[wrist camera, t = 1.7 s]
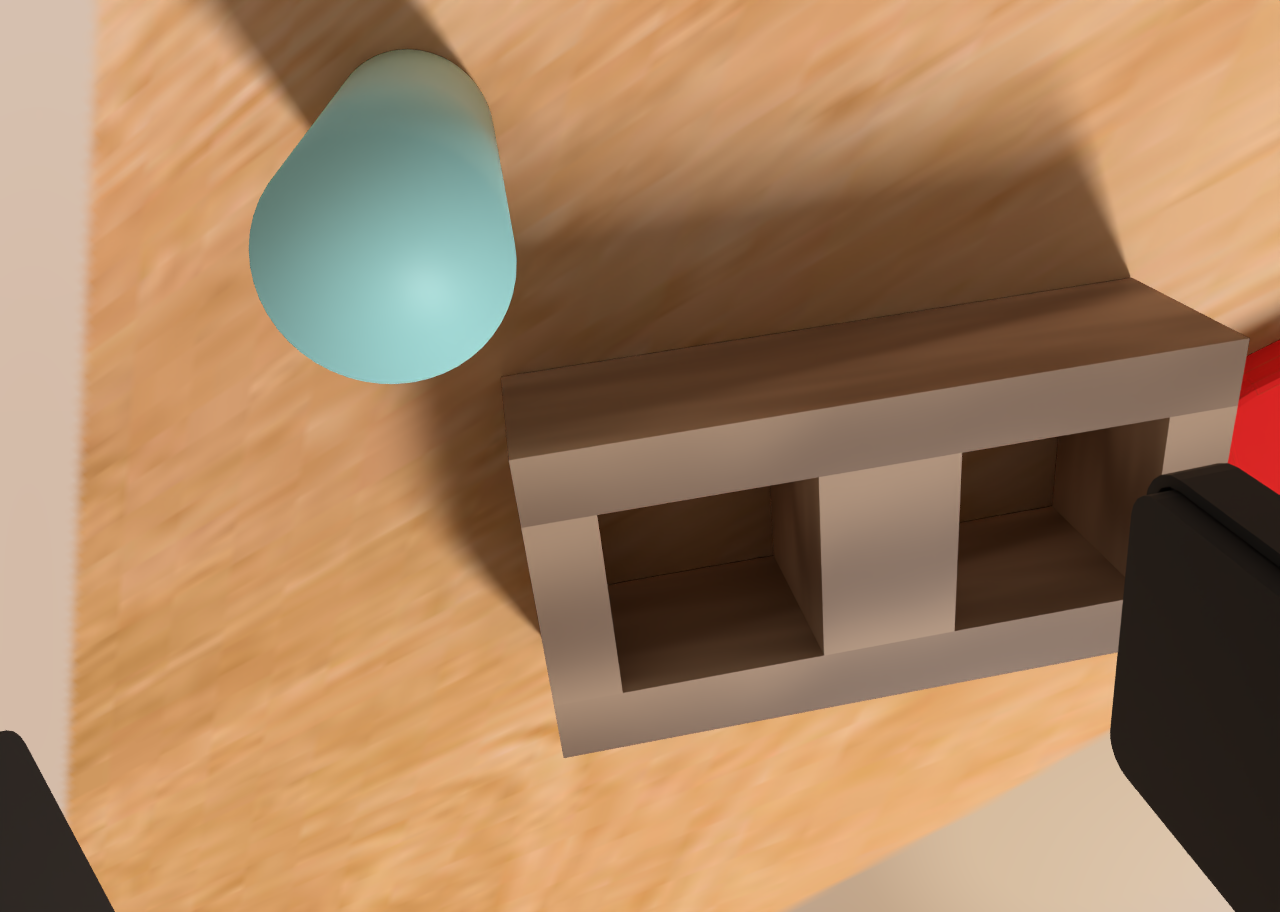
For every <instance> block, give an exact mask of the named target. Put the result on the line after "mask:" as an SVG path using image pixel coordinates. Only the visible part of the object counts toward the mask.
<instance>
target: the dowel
mask: <svg viewBox="0 0 1280 912" xmlns="http://www.w3.org/2000/svg"><path fill="white" fill-rule="evenodd" d="M249 258H250V268H251V273H252V277H253V282H254V285H255V288H256V291H257V293H258V296H259V299H260V301H261V303H262V305H263V307H264V309H265V311H266V313H267V314H268V316H269V317H270V319H271V320H272V322H273V323H274V325H275V326H276V328H277V329H278V330H279V331H280V332H281V333H282V334H283V336H284V337H285V338H286V339H287V340H288V341H289V342H290V343H291V344H292V345H293V346H294V347H296V348H297V349H298V350H299V351H300V352H301V353H303V354H304V355H305V356H307V357H308V358H310V359H311V360H313V361H314V362H315V363H317V364H319V365H321V366H323V367H325V368H327V369H329V370H330V371H333V372H335V373H338V374H341V375H343V376H346V377H349V378H353V379H357V380H360V381H365V382H372V383H379V384H400V383H411V382H416V381H421V380H425V379H429V378H432V377H435V376H438V375H441V374H444V373H446V372H448V371H450V370H452V369H454V368H456V367H458V366H459V365H461V364H462V363H464V362H465V361H466V360H468V359H469V358H471V357H472V356H473V355H474V354H475V353H477V352H478V351H479V350H480V349H481V348H482V347H483V346H484V345H485V344H486V343H487V342H488V340H489V339H490V338H491V337H492V336H493V334H494V333H495V331H496V330H497V328H498V327H499V325H500V324H501V322H502V320H503V318H504V316H505V314H506V312H507V310H508V307H509V304H510V301H511V298H512V295H513V291H514V285H515V280H516V262H517V261H516V250H515V242H514V236H513V231H512V225H511V220H510V214H509V209H508V203H507V198H506V192H505V187H504V181H503V175H502V170H501V164H500V159H499V153H498V148H497V142H496V137H495V131H494V126H493V121H492V116H491V112H490V110H489V107H488V104H487V102H486V100H485V98H484V96H483V94H482V92H481V91H480V89H479V88H478V86H477V85H476V83H475V82H474V81H473V80H472V79H471V78H470V77H469V75H468V74H466V73H465V72H464V71H463V70H462V69H461V68H460V67H458V66H457V65H455V64H454V63H452V62H451V61H449V60H447V59H445V58H443V57H441V56H439V55H436V54H433V53H430V52H426V51H421V50H412V49H402V50H394V51H389V52H385V53H382V54H379V55H376V56H375V57H373V58H371V59H369V60H367V61H366V62H364V63H363V64H361V65H360V66H359V67H357V68H356V69H355V70H354V71H353V72H352V73H351V74H350V76H349V77H348V78H347V80H346V81H345V82H344V84H343V85H342V86H341V88H340V89H339V90H338V92H337V93H336V94H335V96H334V97H333V98H332V100H331V101H330V102H329V103H328V105H327V106H326V107H325V109H324V110H323V111H322V113H321V114H320V115H319V117H318V118H317V119H316V121H315V122H314V123H313V125H312V126H311V127H310V129H309V130H308V131H307V133H306V134H305V135H304V137H303V138H302V139H301V141H300V142H299V143H298V145H297V146H296V147H295V149H294V150H293V151H292V153H291V154H290V155H289V157H288V158H287V159H286V161H285V162H284V163H283V165H282V166H281V167H280V169H279V170H278V171H277V173H276V174H275V175H274V177H273V178H272V179H271V181H270V182H269V183H268V185H267V187H266V188H265V190H264V192H263V194H262V196H261V197H260V199H259V202H258V205H257V207H256V210H255V213H254V215H253V220H252V225H251V229H250V239H249Z"/></svg>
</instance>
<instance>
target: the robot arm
mask: <svg viewBox="0 0 1280 912" xmlns="http://www.w3.org/2000/svg"><path fill="white" fill-rule="evenodd" d="M1110 739H1111V744H1112V749H1113V752H1114V755H1115V758H1116V760H1117V762H1118V764H1119V766H1120V768H1121V770H1122V771H1123V773H1124V774H1125V776H1126V777H1127V779H1128V780H1129V781H1130V782H1131V784H1132V785H1133V786H1134V787H1135V789H1136V790H1137V791H1138V792H1139V793H1140V795H1141V796H1142V797H1143V798H1144V800H1145V801H1146V802H1147V803H1148V805H1149V806H1150V807H1151V808H1152V810H1153V811H1154V812H1155V813H1156V814H1157V815H1158V817H1159V818H1160V819H1161V821H1162V822H1163V823H1164V824H1165V826H1166V827H1167V828H1168V829H1169V831H1170V832H1171V833H1172V834H1173V835H1174V837H1175V838H1176V839H1177V840H1178V842H1179V843H1180V844H1181V845H1182V846H1183V848H1184V849H1185V850H1186V851H1187V853H1188V854H1189V855H1190V856H1191V857H1192V859H1193V860H1194V861H1195V863H1196V864H1197V865H1198V866H1199V867H1200V869H1201V870H1202V871H1203V872H1204V874H1205V875H1206V876H1207V877H1208V879H1209V880H1210V881H1211V882H1212V884H1213V885H1214V886H1215V887H1216V889H1217V890H1218V891H1219V892H1220V893H1221V895H1222V896H1223V897H1224V898H1225V900H1226V901H1227V902H1228V903H1229V905H1230V906H1231V907H1232V908H1233V910H1234V911H1235V912H1280V495H1279V494H1277V493H1276V492H1274V491H1273V490H1271V489H1270V488H1268V487H1267V486H1265V485H1264V484H1262V483H1261V482H1259V481H1258V480H1256V479H1255V478H1253V477H1252V476H1250V475H1249V474H1247V473H1246V472H1244V471H1243V470H1241V469H1240V468H1238V467H1236V466H1234V465H1231V464H1229V463H1217V464H1212V465H1207V466H1202V467H1197V468H1192V469H1188V470H1183V471H1178V472H1173V473H1168V474H1163V475H1160V476H1158V477H1157V478H1155V479H1153V481H1152V482H1151V484H1150V486H1149V487H1148V490H1147V494H1146V495H1144V496H1142V497H1140V498H1138V499H1137V500H1136V502H1135V503H1134V505H1133V508H1132V513H1131V521H1130V532H1129V542H1128V552H1127V563H1126V573H1125V583H1124V594H1123V604H1122V614H1121V625H1120V635H1119V645H1118V656H1117V666H1116V676H1115V687H1114V697H1113V707H1112V718H1111V728H1110ZM0 912H115V911H114V909H113V907H112V906H111V904H110V902H109V900H108V898H107V896H106V894H105V892H104V891H103V889H102V887H101V885H100V883H99V881H98V879H97V877H96V875H95V874H94V872H93V870H92V868H91V866H90V864H89V862H88V860H87V859H86V857H85V855H84V853H83V851H82V849H81V847H80V845H79V843H78V842H77V840H76V838H75V836H74V834H73V832H72V830H71V828H70V827H69V825H68V823H67V821H66V819H65V817H64V815H63V813H62V811H61V810H60V808H59V806H58V804H57V802H56V800H55V798H54V796H53V794H52V793H51V791H50V789H49V787H48V785H47V783H46V781H45V780H44V778H43V776H42V774H41V772H40V770H39V768H38V766H37V765H36V762H35V761H34V759H33V757H32V755H31V753H30V751H29V749H28V747H27V746H26V744H25V742H24V741H23V740H22V738H21V737H20V736H19V735H18V734H17V733H15V732H13V731H7V730H6V731H1V732H0Z"/></svg>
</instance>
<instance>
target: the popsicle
mask: <svg viewBox="0 0 1280 912" xmlns="http://www.w3.org/2000/svg"><path fill="white" fill-rule="evenodd" d="M1228 463H1229V464H1231V465H1234V466H1236V467H1238V468H1240V469H1241V470H1243V471H1244V472H1246V473H1247V474H1249V475H1250V476H1252V477H1253V478H1255V479H1256V480H1258V481H1259V482H1261V483H1262V484H1264V485H1265V486H1267V487H1268V488H1270V489H1271V490H1273V491H1274V492H1276V493H1277V494H1279V495H1280V340H1278V341H1276V342H1274V343H1272V344H1270V345H1268V346H1266V347H1264V348H1262V349H1260V350H1258V351H1256V352H1254V353H1252V354H1250V355H1248V356H1246V362H1245V368H1244V373H1243V379H1242V385H1241V390H1240V396H1239V402H1238V407H1237V413H1236V419H1235V424H1234V430H1233V436H1232V442H1231V447H1230V453H1229V459H1228Z"/></svg>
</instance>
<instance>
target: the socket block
mask: <svg viewBox="0 0 1280 912" xmlns="http://www.w3.org/2000/svg"><path fill="white" fill-rule="evenodd" d="M1249 339H1250V338H1248V337H1246V336H1244V335H1242V334H1240V333H1238V332H1236V331H1234V330H1232V329H1230V328H1229V327H1227V326H1225V325H1223V324H1221V323H1219V322H1217V321H1215V320H1213V319H1211V318H1209V317H1207V316H1205V315H1203V314H1201V313H1199V312H1197V311H1196V310H1194V309H1192V308H1190V307H1188V306H1186V305H1184V304H1182V303H1180V302H1178V301H1176V300H1174V299H1172V298H1170V297H1168V296H1166V295H1164V294H1162V293H1161V292H1159V291H1157V290H1155V289H1153V288H1151V287H1149V286H1147V285H1145V284H1143V283H1141V282H1139V281H1137V280H1135V279H1133V278H1127V279H1120V280H1114V281H1108V282H1101V283H1095V284H1089V285H1082V286H1076V287H1070V288H1063V289H1057V290H1050V291H1044V292H1038V293H1031V294H1025V295H1019V296H1012V297H1006V298H1000V299H993V300H987V301H981V302H974V303H968V304H962V305H955V306H949V307H942V308H936V309H930V310H923V311H917V312H911V313H904V314H898V315H892V316H885V317H879V318H873V319H866V320H860V321H854V322H847V323H841V324H834V325H828V326H822V327H815V328H809V329H803V330H796V331H790V332H784V333H777V334H771V335H765V336H758V337H752V338H746V339H739V340H733V341H726V342H720V343H714V344H707V345H701V346H695V347H688V348H682V349H676V350H669V351H663V352H657V353H650V354H644V355H637V356H631V357H625V358H618V359H612V360H606V361H599V362H593V363H587V364H580V365H574V366H568V367H561V368H555V369H549V370H542V371H536V372H529V373H523V374H517V375H510V376H504V377H501V384H502V395H503V405H504V416H505V426H506V437H507V447H508V457H509V464H510V470H511V475H512V480H513V486H514V491H515V497H516V502H517V508H518V513H519V518H520V524H521V529H522V535H523V540H524V545H525V551H526V556H527V562H528V567H529V572H530V578H531V583H532V589H533V594H534V600H535V605H536V610H537V616H538V621H539V627H540V632H541V637H542V643H543V648H544V654H545V659H546V664H547V670H548V675H549V681H550V686H551V691H552V697H553V702H554V708H555V713H556V719H557V724H558V729H559V735H560V740H561V746H562V751H563V756H564V758H567V757H572V756H577V755H583V754H588V753H593V752H598V751H604V750H609V749H614V748H619V747H625V746H630V745H635V744H640V743H646V742H651V741H656V740H661V739H666V738H672V737H677V736H682V735H687V734H693V733H698V732H703V731H708V730H714V729H719V728H724V727H729V726H734V725H740V724H745V723H750V722H755V721H761V720H766V719H771V718H776V717H782V716H787V715H792V714H797V713H802V712H808V711H813V710H818V709H823V708H829V707H834V706H839V705H844V704H850V703H855V702H860V701H865V700H871V699H876V698H881V697H886V696H891V695H897V694H902V693H907V692H912V691H918V690H923V689H928V688H933V687H939V686H944V685H949V684H954V683H959V682H965V681H970V680H975V679H980V678H986V677H991V676H996V675H1001V674H1007V673H1012V672H1017V671H1022V670H1028V669H1033V668H1038V667H1043V666H1048V665H1054V664H1059V663H1064V662H1069V661H1075V660H1080V659H1085V658H1090V657H1096V656H1101V655H1106V654H1111V653H1116V652H1118V645H1119V635H1120V625H1121V614H1122V604H1123V594H1124V583H1125V573H1126V563H1127V552H1128V542H1129V532H1130V521H1131V513H1132V508H1133V505H1134V503H1135V502H1136V500H1137V499H1138V498H1140V497H1142V496H1144V495H1146V494H1147V490H1148V487H1149V486H1150V484H1151V482H1152V481H1153V479H1155V478H1157V477H1158V476H1160V475H1163V474H1168V473H1173V472H1178V471H1183V470H1188V469H1192V468H1197V467H1202V466H1207V465H1212V464H1217V463H1228V459H1229V453H1230V447H1231V442H1232V436H1233V430H1234V424H1235V419H1236V413H1237V407H1238V402H1239V396H1240V390H1241V385H1242V379H1243V373H1244V368H1245V362H1246V356H1247V351H1248V345H1249ZM1057 436H1058V446H1057V457H1056V469H1055V480H1054V491H1053V502H1052V506H1051V507H1046V508H1040V509H1034V510H1029V511H1023V512H1017V513H1012V514H1006V515H1000V516H995V517H989V518H983V519H978V520H972V521H966V522H961V523H959V513H960V489H961V465H962V453H964V452H970V451H975V450H981V449H987V448H993V447H999V446H1005V445H1011V444H1016V443H1022V442H1028V441H1034V440H1040V439H1046V438H1052V437H1057ZM764 486H770V498H771V516H772V535H773V553H774V556H769V557H763V558H757V559H752V560H746V561H740V562H735V563H729V564H723V565H718V566H712V567H706V568H701V569H695V570H689V571H684V572H678V573H672V574H667V575H661V576H655V577H650V578H644V579H639V580H633V581H627V582H622V583H616V584H610V585H607V580H606V573H605V566H604V559H603V552H602V545H601V538H600V531H599V525H598V518H597V515H600V514H606V513H612V512H618V511H624V510H630V509H636V508H641V507H647V506H653V505H659V504H665V503H671V502H677V501H682V500H688V499H694V498H700V497H706V496H712V495H718V494H723V493H729V492H735V491H741V490H747V489H753V488H759V487H764Z"/></svg>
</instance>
